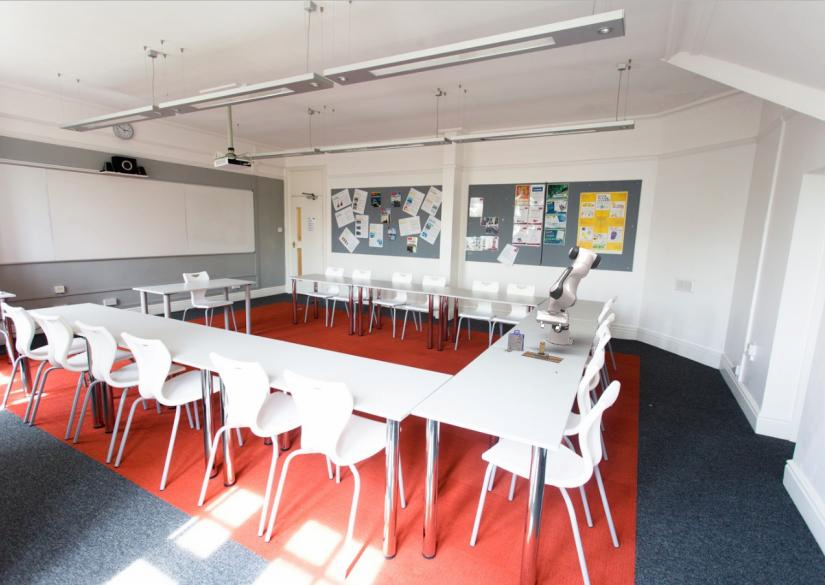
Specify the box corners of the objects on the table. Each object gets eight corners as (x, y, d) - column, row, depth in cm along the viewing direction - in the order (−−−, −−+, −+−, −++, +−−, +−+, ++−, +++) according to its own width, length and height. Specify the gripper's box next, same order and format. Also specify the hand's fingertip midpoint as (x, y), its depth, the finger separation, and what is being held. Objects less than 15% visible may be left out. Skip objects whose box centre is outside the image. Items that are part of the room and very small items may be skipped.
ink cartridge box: (523, 351, 273) (525, 330, 271) (521, 353, 268) (523, 332, 266) (509, 349, 277) (510, 328, 275) (507, 351, 272) (508, 330, 270)
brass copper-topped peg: (539, 356, 257) (541, 341, 256) (544, 357, 255) (545, 342, 254) (538, 357, 255) (539, 342, 253) (542, 358, 253) (544, 343, 251)
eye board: (527, 353, 269) (527, 347, 268) (564, 360, 255) (564, 354, 254) (520, 357, 259) (521, 351, 258) (558, 365, 245) (559, 359, 244)
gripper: (537, 307, 272) (533, 323, 265) (569, 311, 262) (565, 328, 255) (538, 312, 277) (534, 329, 270) (570, 316, 267) (566, 334, 260)
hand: (549, 329), depth 262 cm, fingers open, 8 cm apart
